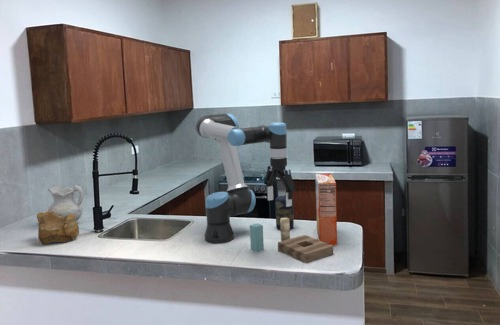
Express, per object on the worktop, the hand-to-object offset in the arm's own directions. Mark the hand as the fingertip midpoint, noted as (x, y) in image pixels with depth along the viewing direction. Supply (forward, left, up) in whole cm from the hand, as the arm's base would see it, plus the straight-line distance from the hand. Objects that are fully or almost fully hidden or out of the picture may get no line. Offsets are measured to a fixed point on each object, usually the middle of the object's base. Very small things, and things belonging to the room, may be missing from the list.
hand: (279, 203), depth 207 cm
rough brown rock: (-89, -84, -23) cm, 125 cm away
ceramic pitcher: (-116, -71, -23) cm, 138 cm away
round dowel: (-7, +8, -23) cm, 25 cm away
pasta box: (-1, +29, -23) cm, 37 cm away
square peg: (-8, -8, -23) cm, 26 cm away
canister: (-26, +22, -23) cm, 41 cm away
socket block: (+9, +7, -23) cm, 25 cm away
